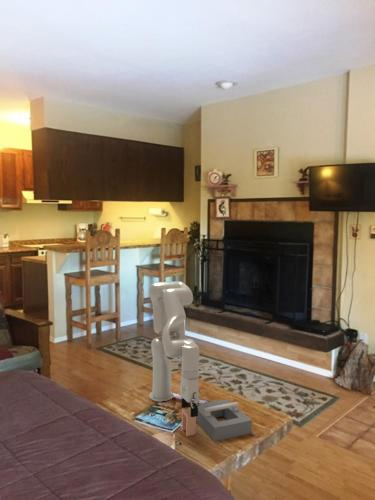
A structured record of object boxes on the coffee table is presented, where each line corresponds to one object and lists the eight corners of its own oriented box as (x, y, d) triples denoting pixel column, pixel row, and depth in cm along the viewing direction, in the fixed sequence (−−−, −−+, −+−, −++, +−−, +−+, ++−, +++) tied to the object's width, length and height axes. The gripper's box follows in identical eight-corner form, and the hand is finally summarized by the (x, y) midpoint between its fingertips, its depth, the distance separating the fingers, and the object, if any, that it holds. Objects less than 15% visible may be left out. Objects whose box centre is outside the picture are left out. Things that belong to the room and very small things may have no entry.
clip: (181, 429, 188) (181, 408, 187) (189, 427, 189) (190, 407, 188) (187, 436, 182) (187, 414, 181) (195, 434, 183) (196, 413, 183)
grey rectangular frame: (192, 417, 198) (193, 397, 197) (226, 411, 206) (227, 392, 205) (214, 441, 178) (214, 419, 177) (251, 433, 185) (252, 412, 185)
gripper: (174, 367, 189) (174, 404, 190) (190, 381, 173) (189, 422, 175) (189, 365, 192) (189, 402, 193) (206, 378, 176) (206, 418, 178)
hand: (189, 411), depth 184 cm, fingers open, 9 cm apart
